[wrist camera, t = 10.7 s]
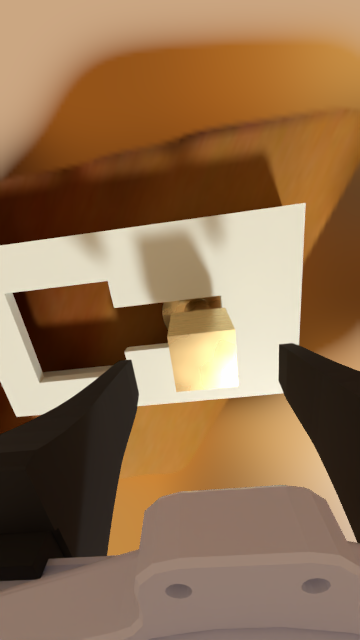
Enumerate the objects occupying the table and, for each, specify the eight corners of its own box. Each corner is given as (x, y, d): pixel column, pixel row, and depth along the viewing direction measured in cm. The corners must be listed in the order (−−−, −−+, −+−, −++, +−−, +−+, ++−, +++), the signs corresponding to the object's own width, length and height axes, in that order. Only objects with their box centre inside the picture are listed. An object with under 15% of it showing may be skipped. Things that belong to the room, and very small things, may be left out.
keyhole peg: (168, 342, 23) (158, 411, 15) (158, 279, 21) (138, 317, 12) (233, 335, 23) (261, 402, 14) (229, 270, 20) (259, 303, 12)
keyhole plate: (40, 389, 25) (16, 416, 22) (-16, 248, 20) (-59, 253, 17) (280, 366, 24) (296, 392, 20) (282, 207, 19) (305, 202, 15)
